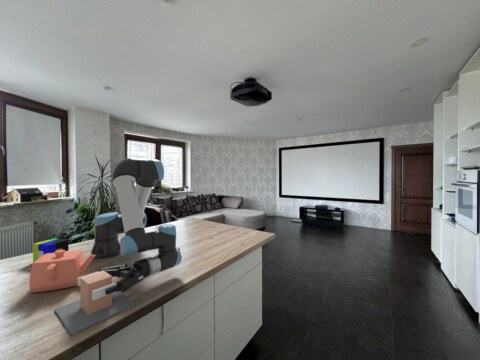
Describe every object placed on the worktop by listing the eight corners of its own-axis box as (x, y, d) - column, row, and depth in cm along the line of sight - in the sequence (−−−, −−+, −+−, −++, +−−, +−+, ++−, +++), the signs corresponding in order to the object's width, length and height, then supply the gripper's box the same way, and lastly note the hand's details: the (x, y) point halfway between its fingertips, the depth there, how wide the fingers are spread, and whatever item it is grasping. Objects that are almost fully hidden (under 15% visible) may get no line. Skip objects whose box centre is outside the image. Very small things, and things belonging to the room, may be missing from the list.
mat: (54, 310, 70) (54, 308, 70) (113, 288, 84) (113, 286, 84) (71, 335, 59) (71, 333, 59) (135, 305, 73) (135, 303, 73)
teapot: (20, 302, 74) (20, 263, 74) (48, 275, 94) (48, 244, 94) (88, 291, 82) (88, 255, 82) (100, 268, 102) (100, 240, 102)
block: (80, 307, 71) (80, 277, 71) (103, 297, 76) (103, 270, 76) (87, 315, 67) (88, 284, 66) (111, 304, 72) (112, 276, 72)
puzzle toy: (48, 265, 105) (48, 245, 105) (33, 263, 107) (33, 243, 107) (68, 257, 115) (68, 239, 115) (53, 256, 117) (54, 238, 117)
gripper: (163, 286, 78) (99, 315, 61) (131, 268, 93) (72, 287, 76) (164, 266, 78) (100, 289, 61) (131, 251, 93) (73, 267, 76)
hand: (84, 288), depth 69 cm, fingers open, 13 cm apart
